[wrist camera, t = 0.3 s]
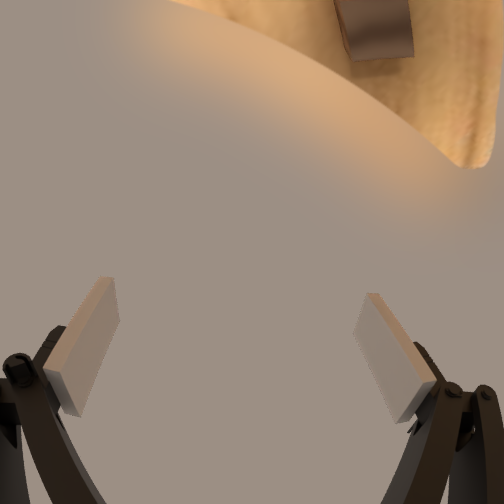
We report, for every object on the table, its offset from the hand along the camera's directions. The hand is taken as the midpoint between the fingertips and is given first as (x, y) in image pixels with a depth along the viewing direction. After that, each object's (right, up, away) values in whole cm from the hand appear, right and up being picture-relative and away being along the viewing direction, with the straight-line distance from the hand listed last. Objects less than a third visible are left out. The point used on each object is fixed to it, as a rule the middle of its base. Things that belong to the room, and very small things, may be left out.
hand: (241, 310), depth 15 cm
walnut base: (+15, +32, +13) cm, 38 cm away
